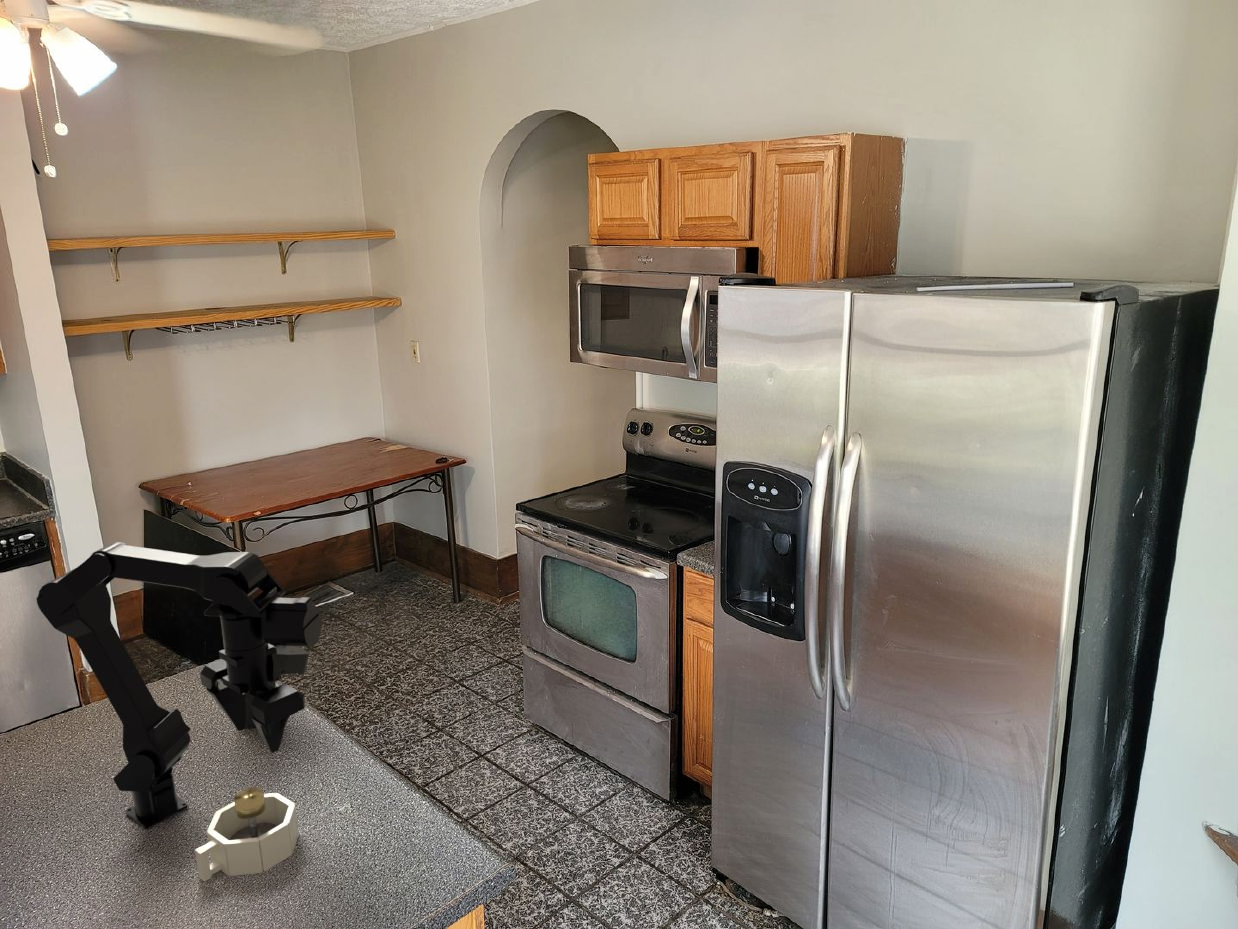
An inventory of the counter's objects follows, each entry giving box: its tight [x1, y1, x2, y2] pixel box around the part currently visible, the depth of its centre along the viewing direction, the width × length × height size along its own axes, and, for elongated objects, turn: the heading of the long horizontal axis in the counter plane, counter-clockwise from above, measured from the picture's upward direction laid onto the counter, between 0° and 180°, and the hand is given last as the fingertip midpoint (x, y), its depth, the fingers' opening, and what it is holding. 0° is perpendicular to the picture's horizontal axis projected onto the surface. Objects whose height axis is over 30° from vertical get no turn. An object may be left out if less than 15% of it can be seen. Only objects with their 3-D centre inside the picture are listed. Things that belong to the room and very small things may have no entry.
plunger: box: [230, 786, 277, 840], centre depth 125 cm, size 7×7×8 cm
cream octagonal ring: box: [194, 792, 300, 882], centre depth 124 cm, size 11×13×5 cm
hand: (257, 740), depth 130 cm, fingers open, 9 cm apart
